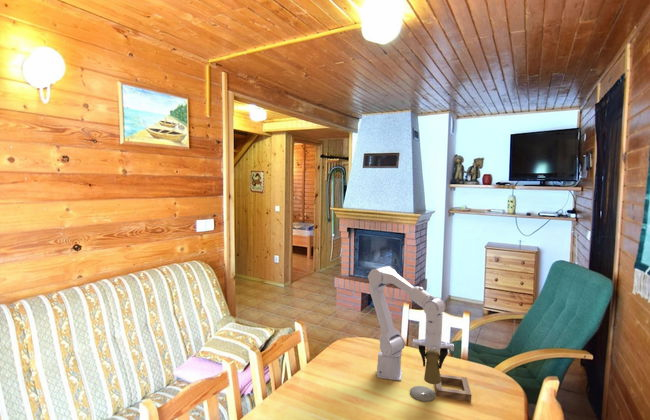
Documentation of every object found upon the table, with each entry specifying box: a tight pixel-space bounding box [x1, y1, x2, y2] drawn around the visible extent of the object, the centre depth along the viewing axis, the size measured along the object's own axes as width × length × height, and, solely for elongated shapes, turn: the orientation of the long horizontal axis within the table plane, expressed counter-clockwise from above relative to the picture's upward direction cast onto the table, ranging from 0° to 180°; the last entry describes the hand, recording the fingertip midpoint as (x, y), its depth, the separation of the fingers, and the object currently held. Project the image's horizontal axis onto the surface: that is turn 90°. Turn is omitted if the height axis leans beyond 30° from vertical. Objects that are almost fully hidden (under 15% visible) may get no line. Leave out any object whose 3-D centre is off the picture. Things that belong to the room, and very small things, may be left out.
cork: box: [423, 349, 441, 385], centre depth 135 cm, size 6×6×11 cm
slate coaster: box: [409, 385, 436, 403], centre depth 135 cm, size 9×9×1 cm
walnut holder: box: [434, 373, 472, 402], centre depth 138 cm, size 12×12×2 cm
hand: (432, 366), depth 135 cm, fingers closed on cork, 5 cm apart
